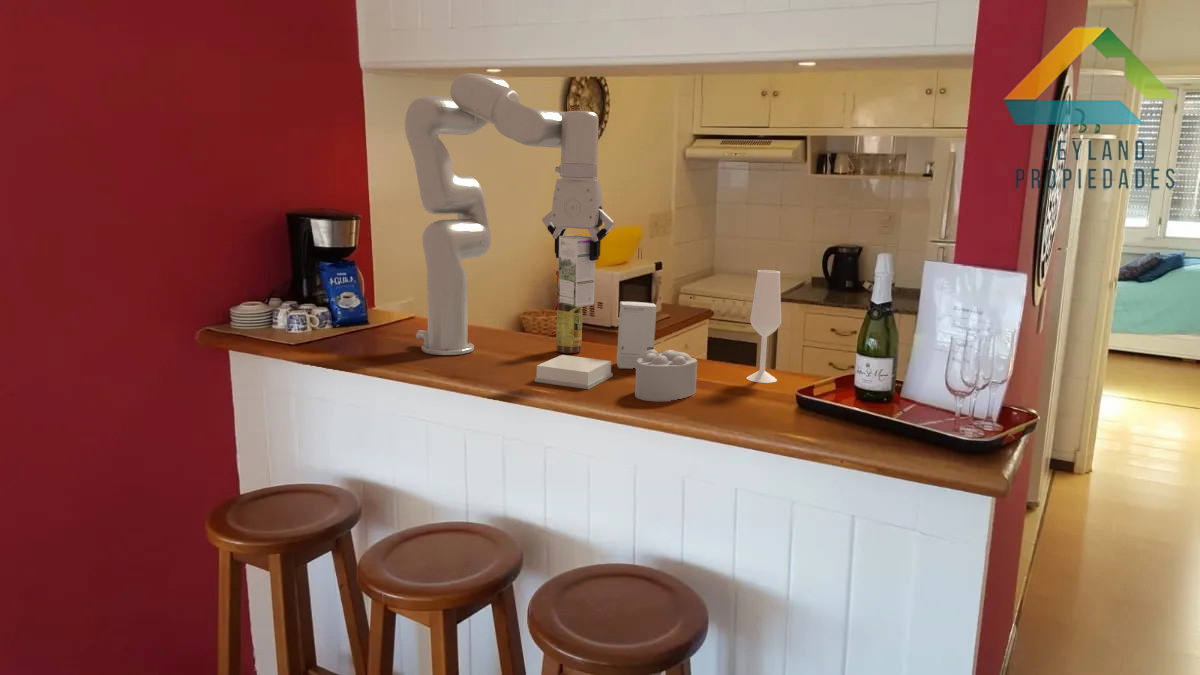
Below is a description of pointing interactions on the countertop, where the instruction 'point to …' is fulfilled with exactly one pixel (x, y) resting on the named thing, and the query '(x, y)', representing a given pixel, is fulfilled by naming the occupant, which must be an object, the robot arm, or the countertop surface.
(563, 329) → the sauce bottle
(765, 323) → the champagne flute
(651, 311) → the skincare box
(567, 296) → the syrup box
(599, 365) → the cream square tile
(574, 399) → the countertop surface
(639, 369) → the lumpy-topped squat cylinder
